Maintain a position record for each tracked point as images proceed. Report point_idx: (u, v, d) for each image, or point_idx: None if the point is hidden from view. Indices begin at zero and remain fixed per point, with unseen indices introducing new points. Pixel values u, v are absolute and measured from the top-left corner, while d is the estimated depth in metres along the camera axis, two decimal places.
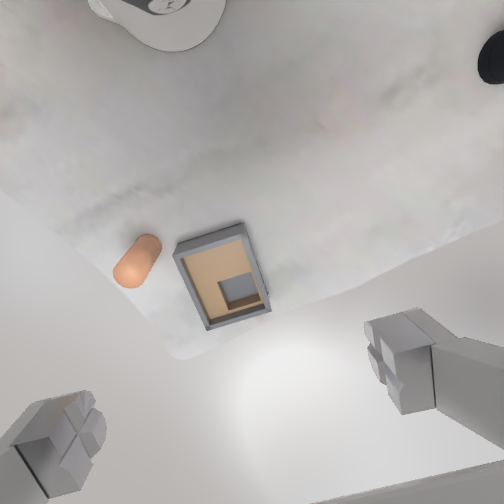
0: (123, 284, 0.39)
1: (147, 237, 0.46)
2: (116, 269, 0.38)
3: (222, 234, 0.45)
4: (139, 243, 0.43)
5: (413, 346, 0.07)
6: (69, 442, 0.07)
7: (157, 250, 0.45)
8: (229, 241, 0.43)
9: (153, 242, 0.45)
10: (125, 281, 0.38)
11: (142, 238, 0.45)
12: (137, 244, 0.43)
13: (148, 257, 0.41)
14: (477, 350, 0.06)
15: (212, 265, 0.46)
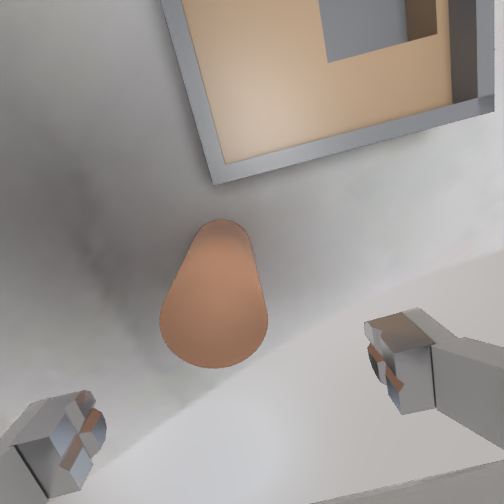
0: (250, 345, 0.11)
1: None
2: (192, 356, 0.11)
3: None
4: None
5: (413, 346, 0.07)
6: (69, 442, 0.07)
7: (214, 229, 0.17)
8: None
9: (198, 235, 0.18)
10: (239, 338, 0.11)
11: None
12: None
13: (197, 252, 0.14)
14: (477, 351, 0.06)
15: (269, 69, 0.15)
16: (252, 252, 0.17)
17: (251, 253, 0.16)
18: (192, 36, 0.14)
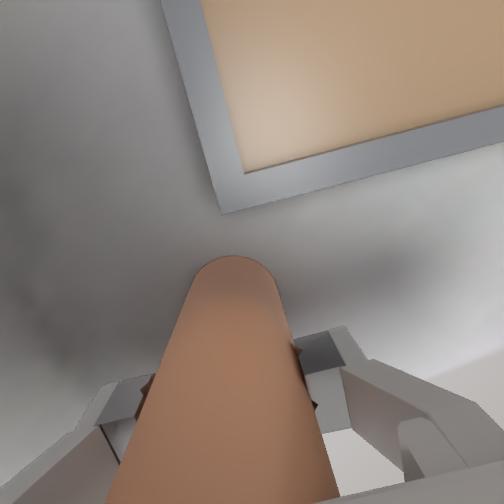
0: None
1: None
2: None
3: None
4: None
5: (325, 367, 0.07)
6: None
7: (222, 280, 0.10)
8: None
9: (196, 286, 0.11)
10: None
11: None
12: None
13: (187, 356, 0.07)
14: (378, 374, 0.06)
15: None
16: (287, 322, 0.10)
17: (288, 332, 0.09)
18: None
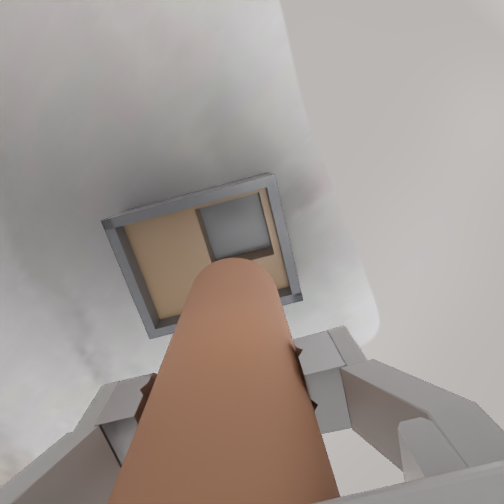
0: None
1: None
2: None
3: None
4: None
5: (325, 367, 0.07)
6: None
7: (223, 282, 0.10)
8: (120, 248, 0.24)
9: (196, 288, 0.11)
10: None
11: None
12: None
13: (188, 359, 0.07)
14: (378, 374, 0.06)
15: (180, 274, 0.27)
16: (287, 324, 0.10)
17: (289, 334, 0.09)
18: (137, 260, 0.26)
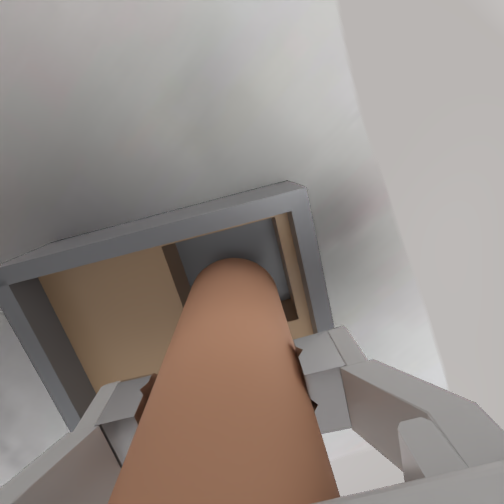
0: None
1: None
2: None
3: None
4: None
5: (325, 367, 0.07)
6: None
7: (223, 283, 0.10)
8: (22, 320, 0.13)
9: (196, 289, 0.11)
10: None
11: None
12: None
13: (188, 359, 0.07)
14: (378, 374, 0.06)
15: (141, 351, 0.16)
16: (287, 325, 0.10)
17: (289, 334, 0.09)
18: (66, 331, 0.15)
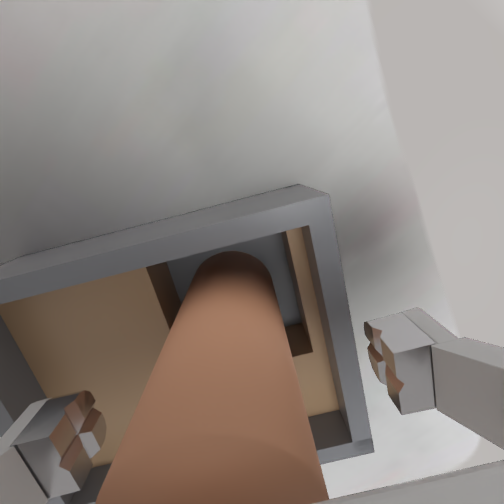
0: None
1: None
2: None
3: None
4: None
5: (413, 346, 0.07)
6: (69, 442, 0.07)
7: (221, 271, 0.11)
8: None
9: (197, 277, 0.12)
10: None
11: None
12: None
13: (189, 331, 0.08)
14: (477, 350, 0.06)
15: (123, 390, 0.13)
16: (279, 309, 0.11)
17: (279, 316, 0.10)
18: (31, 366, 0.13)
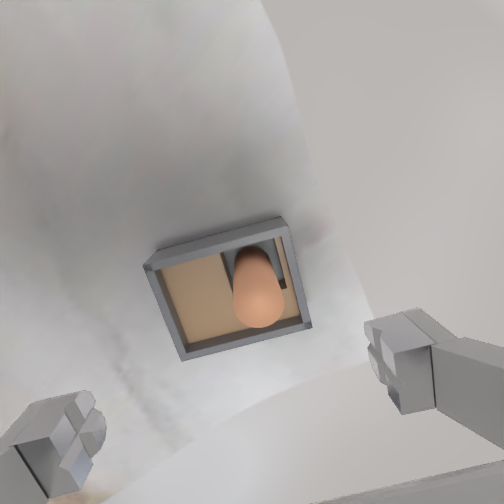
0: (275, 316, 0.23)
1: (234, 264, 0.31)
2: (247, 321, 0.23)
3: None
4: None
5: (413, 346, 0.07)
6: (69, 442, 0.07)
7: (250, 253, 0.29)
8: (158, 287, 0.29)
9: (239, 257, 0.30)
10: (270, 312, 0.23)
11: None
12: None
13: (246, 269, 0.26)
14: (477, 350, 0.06)
15: (207, 305, 0.31)
16: None
17: None
18: (170, 295, 0.31)
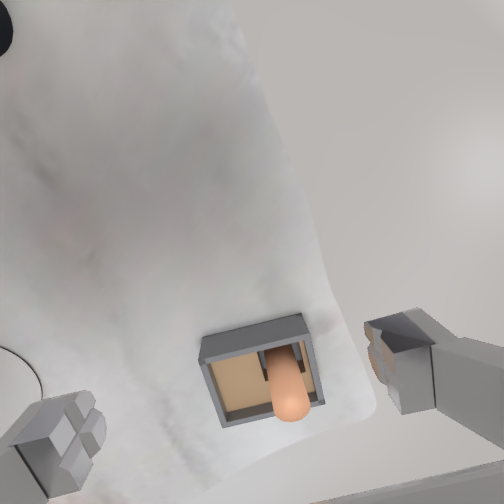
0: (303, 414, 0.32)
1: (264, 352, 0.40)
2: (282, 418, 0.32)
3: None
4: (266, 368, 0.37)
5: (413, 346, 0.07)
6: (69, 442, 0.07)
7: (280, 349, 0.38)
8: (208, 375, 0.37)
9: (270, 349, 0.39)
10: (299, 412, 0.32)
11: None
12: (267, 371, 0.37)
13: (280, 372, 0.34)
14: (477, 350, 0.06)
15: (243, 384, 0.40)
16: None
17: (297, 365, 0.37)
18: (215, 376, 0.39)
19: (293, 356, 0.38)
